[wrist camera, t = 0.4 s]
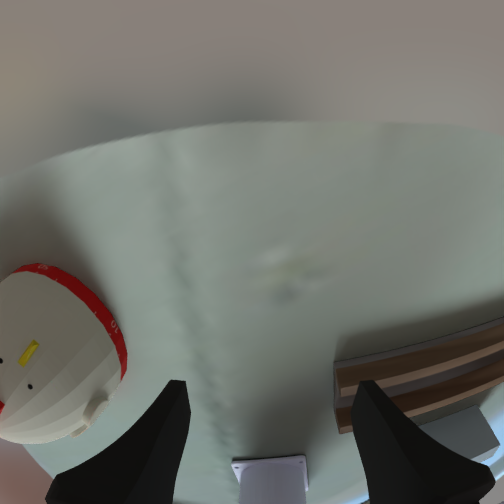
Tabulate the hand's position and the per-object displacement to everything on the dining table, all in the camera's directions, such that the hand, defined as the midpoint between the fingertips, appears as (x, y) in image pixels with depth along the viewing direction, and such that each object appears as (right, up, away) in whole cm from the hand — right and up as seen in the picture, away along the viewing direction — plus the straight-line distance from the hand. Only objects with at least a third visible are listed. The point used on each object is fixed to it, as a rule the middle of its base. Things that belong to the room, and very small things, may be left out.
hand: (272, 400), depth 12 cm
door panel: (+20, -14, +15) cm, 28 cm away
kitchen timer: (-18, -1, +12) cm, 21 cm away
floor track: (+18, -4, +11) cm, 22 cm away
